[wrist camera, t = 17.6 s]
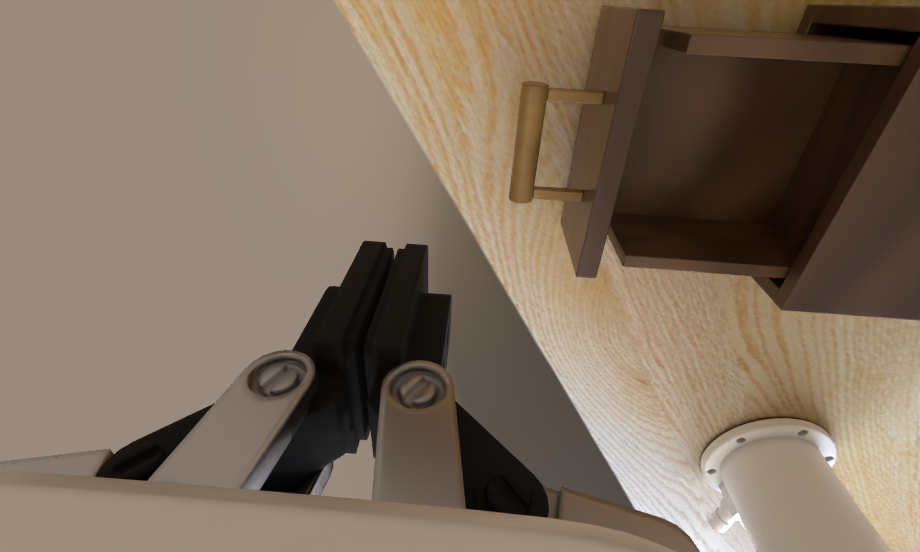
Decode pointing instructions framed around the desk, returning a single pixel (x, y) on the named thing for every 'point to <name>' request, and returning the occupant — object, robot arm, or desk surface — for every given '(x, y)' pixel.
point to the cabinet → (867, 193)
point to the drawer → (705, 142)
